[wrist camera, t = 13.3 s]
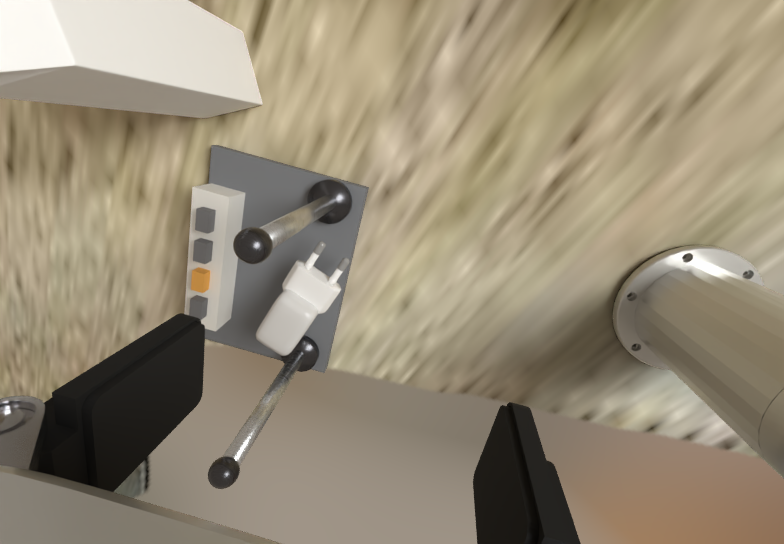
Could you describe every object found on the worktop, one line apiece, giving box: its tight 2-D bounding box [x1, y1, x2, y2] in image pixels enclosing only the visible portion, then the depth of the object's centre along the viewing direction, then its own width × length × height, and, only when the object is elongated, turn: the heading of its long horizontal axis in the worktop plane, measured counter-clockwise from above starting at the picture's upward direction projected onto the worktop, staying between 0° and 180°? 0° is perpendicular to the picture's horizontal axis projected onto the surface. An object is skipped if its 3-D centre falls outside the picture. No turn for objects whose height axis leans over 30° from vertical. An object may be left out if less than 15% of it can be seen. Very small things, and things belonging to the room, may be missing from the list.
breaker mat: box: [184, 145, 369, 373], centre depth 37 cm, size 15×21×5 cm
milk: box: [0, 0, 263, 118], centre depth 23 cm, size 6×6×22 cm
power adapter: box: [256, 241, 350, 356], centre depth 35 cm, size 11×5×6 cm, turn 145°
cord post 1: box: [233, 179, 352, 264], centre depth 27 cm, size 4×4×17 cm
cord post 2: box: [208, 335, 319, 489], centre depth 33 cm, size 4×4×17 cm
